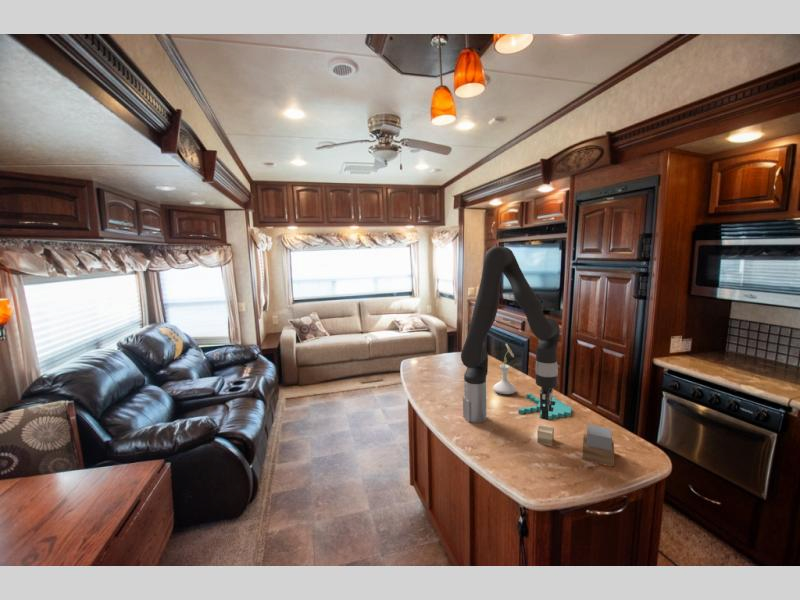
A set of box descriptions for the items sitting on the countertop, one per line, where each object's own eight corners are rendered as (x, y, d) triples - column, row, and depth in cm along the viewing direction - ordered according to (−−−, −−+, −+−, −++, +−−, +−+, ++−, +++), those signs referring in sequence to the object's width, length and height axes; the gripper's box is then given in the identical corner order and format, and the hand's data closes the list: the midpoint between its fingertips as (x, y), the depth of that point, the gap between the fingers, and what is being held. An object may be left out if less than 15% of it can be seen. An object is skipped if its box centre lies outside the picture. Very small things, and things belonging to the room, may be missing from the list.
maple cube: (551, 446, 119) (552, 433, 118) (537, 442, 121) (537, 430, 121) (553, 439, 123) (553, 427, 122) (539, 436, 126) (539, 424, 125)
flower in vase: (512, 398, 159) (511, 349, 156) (489, 393, 166) (489, 346, 163) (520, 389, 170) (520, 343, 166) (498, 384, 177) (498, 340, 173)
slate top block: (611, 451, 107) (612, 438, 106) (587, 445, 110) (587, 433, 110) (610, 440, 113) (610, 428, 112) (587, 435, 116) (587, 424, 116)
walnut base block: (613, 467, 106) (614, 453, 105) (582, 459, 111) (582, 446, 110) (612, 453, 114) (613, 439, 113) (583, 446, 118) (583, 433, 118)
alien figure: (518, 414, 144) (568, 424, 134) (518, 409, 144) (568, 419, 133) (527, 397, 161) (572, 405, 150) (527, 393, 161) (572, 400, 150)
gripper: (555, 380, 111) (555, 425, 113) (559, 367, 123) (559, 408, 125) (532, 377, 115) (532, 420, 117) (538, 365, 127) (539, 404, 129)
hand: (546, 414), depth 121 cm, fingers open, 8 cm apart
